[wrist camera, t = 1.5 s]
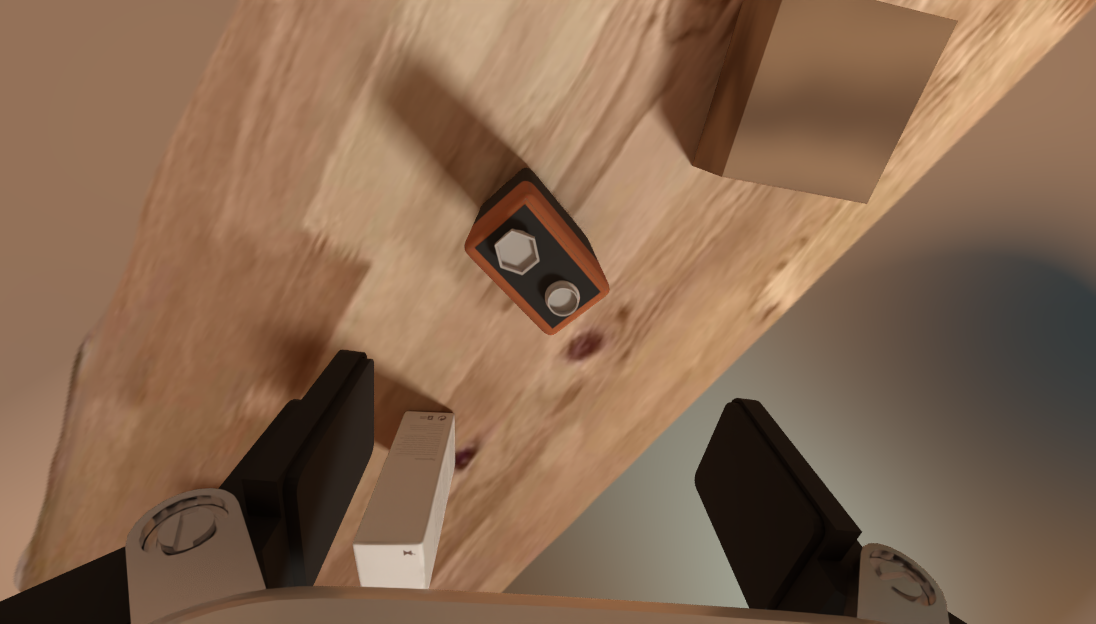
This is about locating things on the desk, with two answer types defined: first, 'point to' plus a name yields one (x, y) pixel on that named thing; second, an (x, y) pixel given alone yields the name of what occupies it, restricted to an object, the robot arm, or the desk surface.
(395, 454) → the skincare box
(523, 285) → the battery
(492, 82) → the desk surface
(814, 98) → the walnut block
